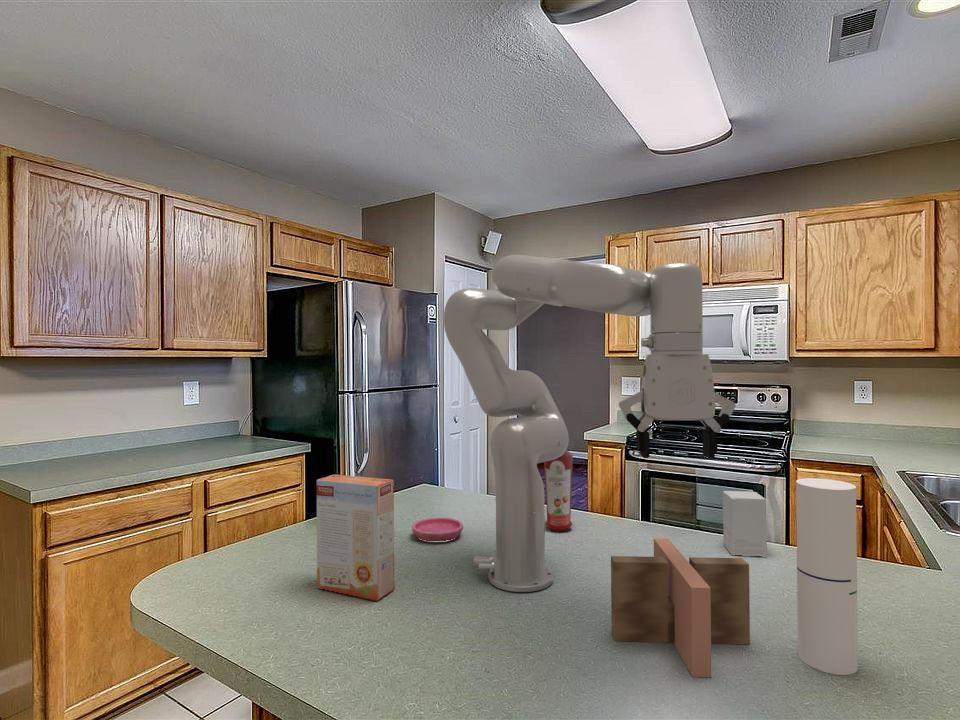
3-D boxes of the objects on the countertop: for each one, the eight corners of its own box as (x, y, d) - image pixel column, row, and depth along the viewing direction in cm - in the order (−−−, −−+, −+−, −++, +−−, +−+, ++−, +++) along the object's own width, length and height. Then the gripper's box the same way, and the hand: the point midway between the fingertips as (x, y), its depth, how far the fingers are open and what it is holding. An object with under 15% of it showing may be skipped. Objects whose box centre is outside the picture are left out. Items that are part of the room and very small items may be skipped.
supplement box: (767, 558, 115) (767, 499, 115) (730, 555, 116) (730, 497, 116) (757, 546, 122) (756, 491, 122) (722, 544, 123) (722, 489, 123)
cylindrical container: (786, 648, 79) (784, 478, 79) (832, 645, 79) (830, 477, 79) (821, 676, 72) (819, 490, 72) (871, 673, 72) (869, 488, 72)
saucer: (468, 542, 126) (468, 529, 126) (416, 548, 123) (416, 534, 123) (456, 527, 138) (456, 515, 138) (408, 532, 135) (408, 519, 135)
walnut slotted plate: (614, 640, 81) (613, 562, 81) (611, 632, 84) (610, 556, 84) (749, 644, 80) (749, 564, 80) (742, 635, 82) (742, 558, 82)
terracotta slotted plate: (711, 677, 72) (710, 587, 72) (692, 676, 72) (691, 587, 72) (669, 608, 92) (668, 538, 92) (654, 608, 92) (653, 538, 92)
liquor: (574, 525, 138) (573, 417, 138) (572, 534, 131) (571, 420, 131) (545, 523, 140) (545, 417, 140) (542, 532, 133) (541, 420, 133)
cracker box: (396, 589, 100) (395, 478, 100) (377, 603, 95) (376, 485, 95) (337, 577, 106) (336, 472, 106) (315, 589, 100) (314, 478, 101)
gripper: (624, 345, 79) (624, 461, 79) (744, 344, 78) (744, 462, 78) (614, 346, 86) (614, 452, 86) (724, 345, 85) (724, 453, 85)
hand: (676, 456), depth 82 cm, fingers open, 9 cm apart
